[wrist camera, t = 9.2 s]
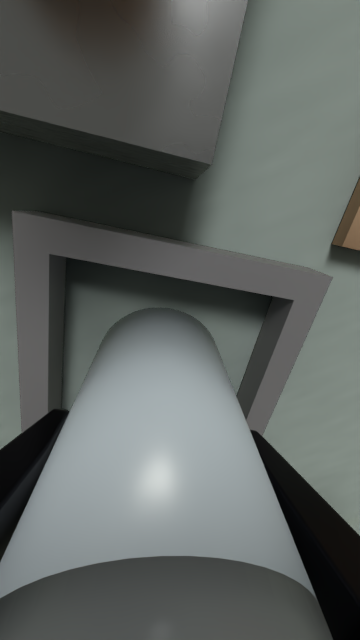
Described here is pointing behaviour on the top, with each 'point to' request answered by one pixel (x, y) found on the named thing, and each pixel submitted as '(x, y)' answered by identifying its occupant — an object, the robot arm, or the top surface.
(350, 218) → the walnut pad
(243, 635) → the cylinder
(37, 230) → the collar
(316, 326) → the top surface
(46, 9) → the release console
